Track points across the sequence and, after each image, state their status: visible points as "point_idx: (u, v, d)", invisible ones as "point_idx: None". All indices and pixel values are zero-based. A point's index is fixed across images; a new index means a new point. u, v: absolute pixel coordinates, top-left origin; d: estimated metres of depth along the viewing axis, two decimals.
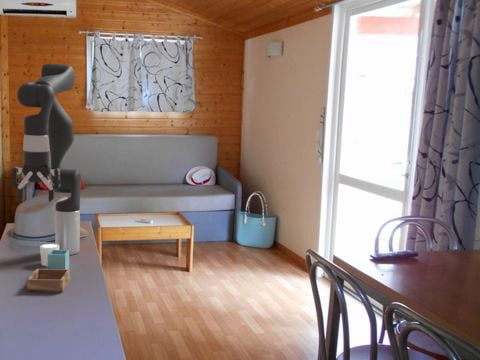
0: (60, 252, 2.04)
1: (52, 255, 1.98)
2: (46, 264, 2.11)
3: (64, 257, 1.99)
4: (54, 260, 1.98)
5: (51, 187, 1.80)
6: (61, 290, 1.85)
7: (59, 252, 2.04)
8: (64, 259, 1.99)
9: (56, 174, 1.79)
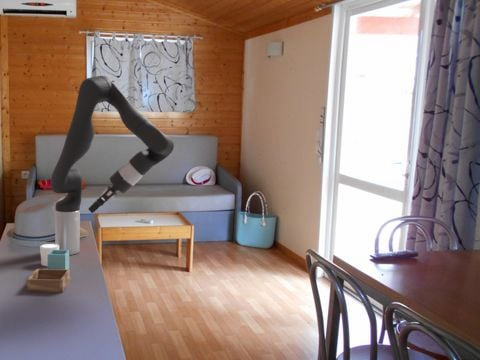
0: (60, 252, 2.04)
1: (52, 255, 1.98)
2: (46, 264, 2.11)
3: (64, 257, 1.99)
4: (54, 260, 1.98)
5: None
6: (61, 290, 1.85)
7: (59, 252, 2.04)
8: (64, 259, 1.99)
9: None
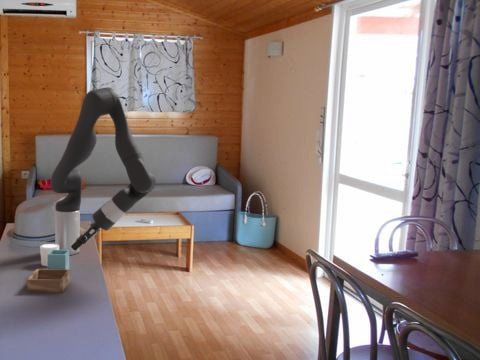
0: (60, 252, 2.04)
1: (52, 255, 1.98)
2: (46, 264, 2.11)
3: (64, 257, 1.99)
4: (54, 260, 1.98)
5: None
6: (61, 290, 1.85)
7: (59, 252, 2.04)
8: (64, 259, 1.99)
9: None
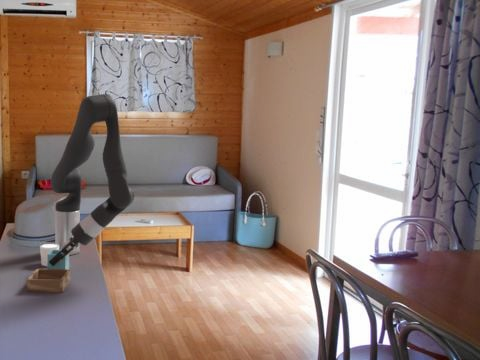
0: None
1: (52, 255, 1.98)
2: (46, 264, 2.11)
3: (64, 257, 1.99)
4: None
5: None
6: (61, 290, 1.85)
7: None
8: (64, 259, 1.99)
9: None
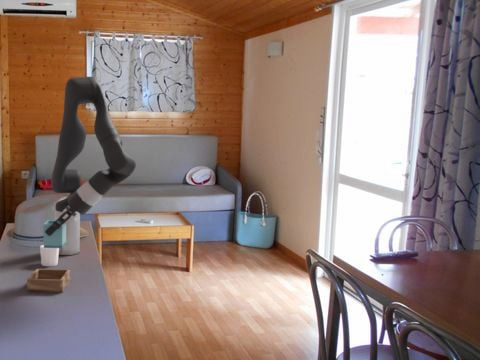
0: None
1: (48, 225, 1.89)
2: (46, 264, 2.11)
3: (61, 227, 1.90)
4: None
5: None
6: (61, 290, 1.85)
7: None
8: (61, 229, 1.90)
9: None
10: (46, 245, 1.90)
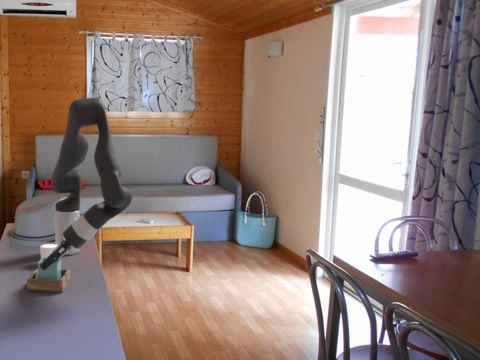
0: None
1: None
2: None
3: (56, 265, 1.86)
4: (45, 269, 1.86)
5: None
6: (61, 290, 1.85)
7: None
8: (56, 268, 1.86)
9: None
10: None
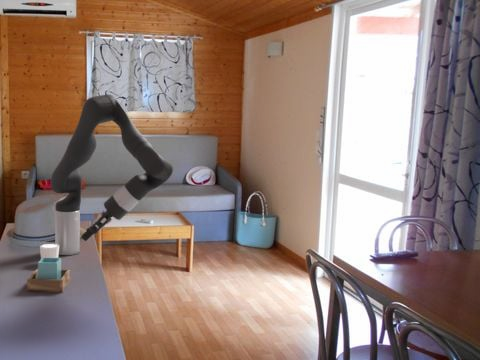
0: (51, 260, 1.91)
1: (43, 263, 1.86)
2: None
3: (56, 265, 1.86)
4: (45, 269, 1.86)
5: None
6: (61, 290, 1.85)
7: (50, 260, 1.91)
8: (56, 268, 1.86)
9: None
10: None
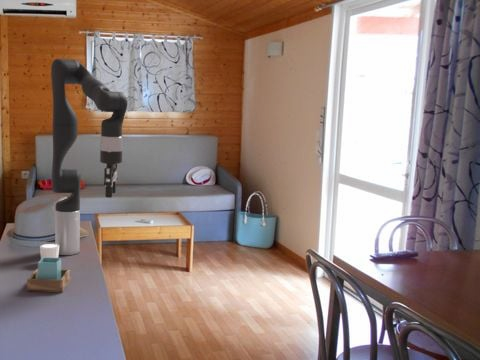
0: (51, 260, 1.91)
1: (43, 263, 1.86)
2: None
3: (56, 265, 1.86)
4: (45, 269, 1.86)
5: (116, 180, 2.08)
6: (61, 290, 1.85)
7: (50, 260, 1.91)
8: (56, 268, 1.86)
9: (116, 168, 2.09)
10: None
